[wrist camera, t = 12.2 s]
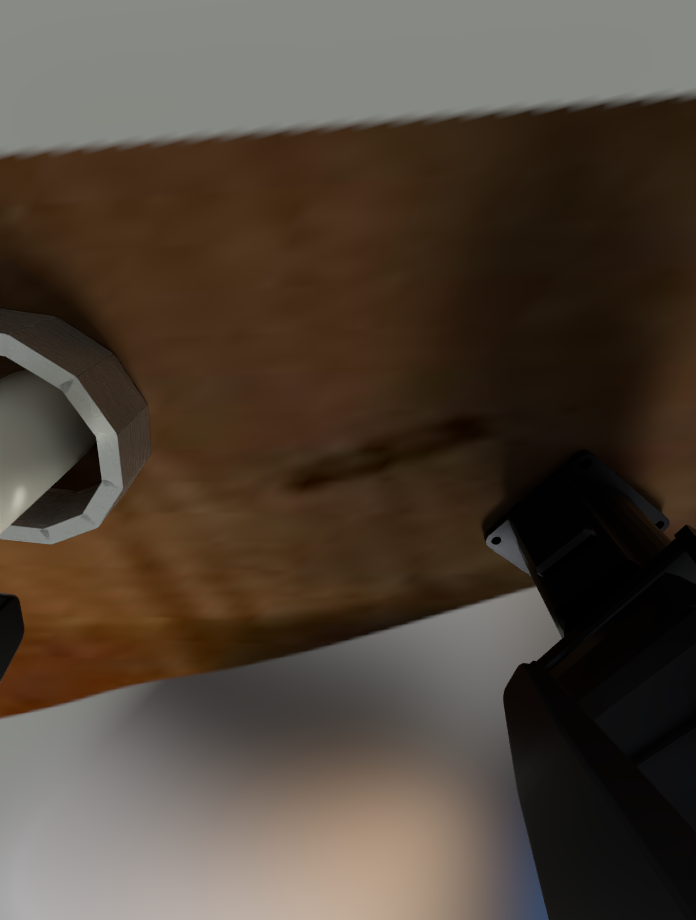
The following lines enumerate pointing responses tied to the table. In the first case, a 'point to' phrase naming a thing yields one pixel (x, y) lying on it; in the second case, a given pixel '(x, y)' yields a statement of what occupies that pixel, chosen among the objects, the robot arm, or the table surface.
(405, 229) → the table surface
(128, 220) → the table surface
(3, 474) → the peg
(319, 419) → the table surface
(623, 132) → the table surface
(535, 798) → the robot arm
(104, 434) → the collar
